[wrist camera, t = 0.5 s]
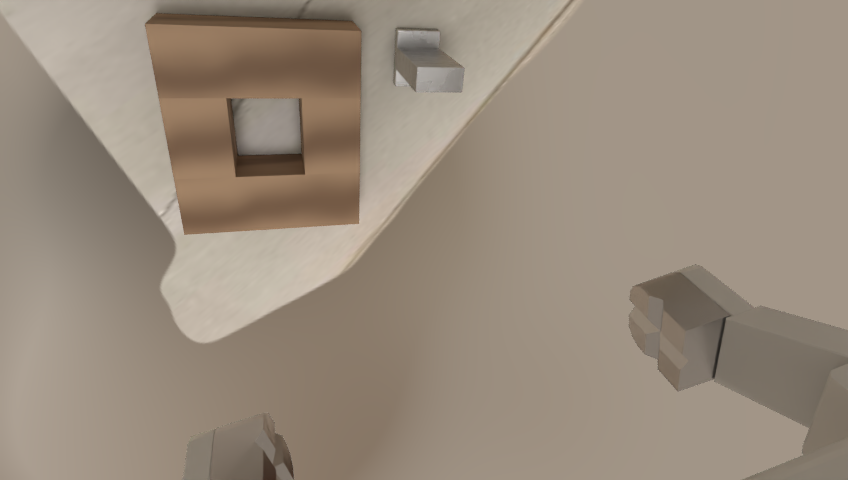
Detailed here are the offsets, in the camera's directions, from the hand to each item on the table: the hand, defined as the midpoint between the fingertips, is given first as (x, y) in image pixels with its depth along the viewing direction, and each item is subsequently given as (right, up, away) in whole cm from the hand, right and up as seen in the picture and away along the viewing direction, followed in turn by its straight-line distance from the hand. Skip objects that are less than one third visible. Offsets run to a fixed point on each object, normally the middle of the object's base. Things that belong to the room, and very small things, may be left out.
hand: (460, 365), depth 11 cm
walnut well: (-16, +14, +38) cm, 43 cm away
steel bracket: (-2, +20, +38) cm, 43 cm away
